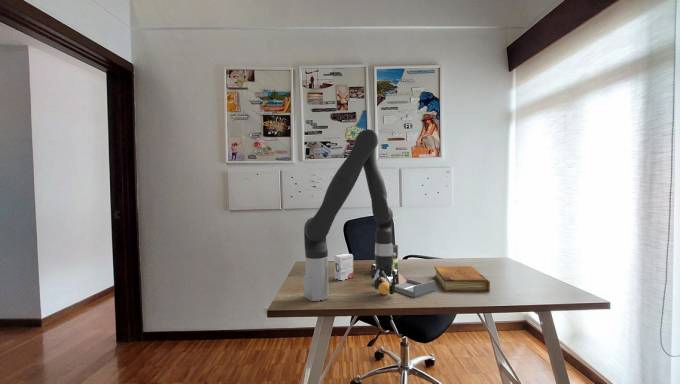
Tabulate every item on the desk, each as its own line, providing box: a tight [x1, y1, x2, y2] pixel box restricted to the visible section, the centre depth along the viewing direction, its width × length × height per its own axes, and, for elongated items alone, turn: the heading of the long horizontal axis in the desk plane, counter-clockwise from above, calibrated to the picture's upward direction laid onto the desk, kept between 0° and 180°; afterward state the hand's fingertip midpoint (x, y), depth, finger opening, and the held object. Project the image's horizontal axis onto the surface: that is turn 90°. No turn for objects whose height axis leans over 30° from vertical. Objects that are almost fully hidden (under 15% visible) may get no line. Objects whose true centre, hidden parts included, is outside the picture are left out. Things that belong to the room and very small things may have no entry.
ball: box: [377, 282, 390, 296], centre depth 139 cm, size 5×5×5 cm
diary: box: [434, 265, 491, 293], centre depth 152 cm, size 23×19×6 cm
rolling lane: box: [379, 267, 436, 298], centre depth 148 cm, size 13×24×6 cm, turn 37°
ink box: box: [334, 253, 354, 281], centre depth 163 cm, size 9×5×12 cm, turn 129°
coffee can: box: [392, 243, 399, 271], centre depth 173 cm, size 10×10×14 cm
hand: (384, 291), depth 139 cm, fingers open, 8 cm apart
